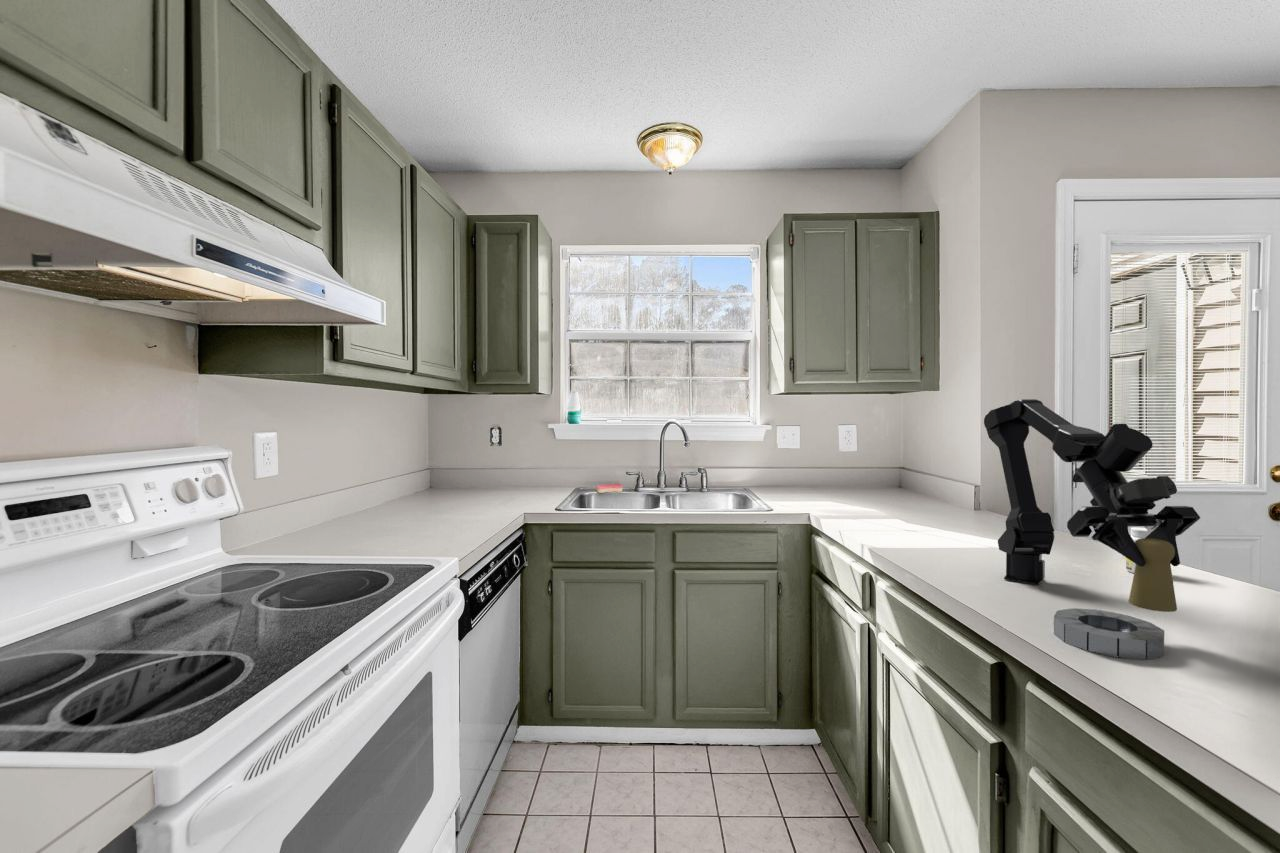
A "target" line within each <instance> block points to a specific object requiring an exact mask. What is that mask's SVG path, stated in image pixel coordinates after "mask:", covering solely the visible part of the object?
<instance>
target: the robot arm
mask: <svg viewBox="0 0 1280 853" xmlns="http://www.w3.org/2000/svg"><path fill="white" fill-rule="evenodd" d="M983 419H984V420H983V425H984V428H985V430H986V432H987V436H988V439H990V441H991V442H992V443H993V444H994V445H995V446H996V447H997V448H998V449H999V450H998V451H999V454H1000V459H1001V463H1002V464H1001V465H1002V469H1003V470H1002V471H1003V475H1004V478H1005V485H1006V490H1007V495H1008V499H1009V504H1010V511H1009V513H1008V515H1007V517H1006V520H1005V529H1006V530H1004V532H1003V533H1002V534H1001V535H1000V537H999V538H998V540H997V545H998V550H999V551H1001V552H1004V553H1005V555H1006V559H1005V568H1006V569H1005V574H1006V575H1005V576H1004V577H1003V578H1004V580H1005V581H1012V582H1017V583H1018V582H1019V583H1022V584H1023V583H1024V584H1028V585H1029V584H1030V585H1034V586H1035V585H1037V586H1039V585H1040V584H1041V583H1042V582H1043V581H1044V580H1045V578H1046V575H1045V574H1046V571H1045V570H1046V569H1045V568H1046V567H1045V566H1046V561H1045V560H1044V559H1043V555H1051V551H1052V548H1053V544H1054V541H1055V533H1054V532H1055V529H1054V526H1053V524H1052V516H1051V515H1050V513H1049V512H1043V511H1042V510H1041V509H1040V508H1039V507H1038V505H1037V500H1036V495H1035V490H1034V486H1033V482H1032V476H1031V472H1030V467H1029V464H1028V459H1027V454H1026V449H1025V442H1026V440H1027V437H1028V435H1029V434H1030V427H1031V428H1033V429H1035V430H1036V432H1038V433H1040V434H1041V435H1043V437H1045V439H1047V440H1049V441H1050V442H1051V444H1052V451H1053V452H1054V453H1055V454H1056V455H1057V456H1058V457H1059V458H1060V460H1061V461H1062V462H1065V463H1082V464H1081V465H1080V466H1079V468H1077V467H1076V468H1075V469H1074V471H1075V472H1074V474H1073V476H1072V483H1084V485H1085V486H1086V488H1087V490H1088V491H1089V493H1090V494H1091V496H1092V499H1091V500H1090V502H1089V503H1090V504H1091V506H1080V507H1079V508H1078V509H1077V511H1076V512H1074V514H1073V515H1072V516H1071V517H1070V518H1069V519H1068V520H1067V522H1066V525H1067V526H1066V527H1067V530H1068V531H1069V533H1070V535H1071V536H1072V537H1073V538H1075V537H1077V538H1078V537H1079V538H1081V537H1082V538H1083V537H1084V538H1085V537H1087V538H1089V536H1091V533H1093V530H1094V534H1093V535H1092V536H1091V539H1092V540H1093V541H1097V542H1099V543H1102V544H1103V545H1104V546H1107V547H1108V548H1110V549H1112V550H1113V551H1115V552H1117V553H1119V554H1120V555H1122V557H1124V558H1125V559H1126V558H1128V559H1129V560H1131V561H1132V562H1134V563H1135V564H1137V565H1138V566H1144V565H1145V564H1146V562H1145V560H1144V558H1143V556H1142V554H1141V552H1140V550H1139V549H1138V547H1137V546H1136V544H1135V542H1134V541H1133V539H1132V537H1131V536H1130V535H1131V533H1130V532H1129V528H1133V527H1141V528H1146V529H1147V530H1148V532H1149V533H1150V534H1149V535H1148V536H1147V537H1146V538H1152V539H1159V540H1164V541H1167V542H1169V543H1171V544H1172V545H1173V547H1174V549H1175V555H1174V558H1173V559H1172V560H1171V561H1170V565H1172V566H1173V567H1178V566H1179V565H1180V564H1181V560H1180V555H1179V549H1178V544H1177V540H1176V539H1177V537H1178V536H1180V535H1183V534H1184V532H1186V531H1187V530H1188V529H1190V527H1192V526H1193V525H1194V524H1195V523H1196V522H1198V521H1199V520H1200V519H1201V516H1200V515H1199V513H1198V512H1197V511H1196V510H1195V508H1194V507H1193V506H1188V505H1166V506H1164V507H1163V508H1162V509H1161V510H1160V511H1159V512H1158V513H1157V514H1154V513H1149V510H1153V509H1154V508H1155V507H1156V504H1155V502H1157V501H1158V502H1159V501H1160V500H1164V499H1166V500H1168V499H1170V498H1171V496H1173V495H1176V493H1178V492H1177V491H1178V489H1177V485H1176V483H1175V482H1174V481H1173V479H1171V478H1170V476H1169V475H1158V476H1156V477H1154V478H1152V477H1151V478H1137V479H1133V480H1131V481H1128V480H1127V479H1126V478H1125V476H1124V475H1123V473H1125V472H1129V471H1132V470H1133V468H1134V467H1135V466H1136V465H1138V463H1139V462H1140V461H1141V460H1142V459H1143V458H1144V457H1145V456H1146V455H1147V453H1148V452H1149V451H1150V450H1151V449H1152V448H1153V441H1152V440H1151V438H1150V437H1149V435H1145V433H1143V432H1141V431H1140V430H1137V429H1135V428H1131V427H1129V425H1128V424H1127V423H1113V424H1112V425H1111V427H1110V428H1109V430H1108V432H1107V433H1106V435H1104V434H1103V433H1102V432H1100V431H1096V430H1093V429H1091V428H1088V427H1082V426H1078V425H1075V424H1073V423H1071V422H1070V421H1069V420H1067V419H1065V418H1064V417H1062V416H1060V414H1057V413H1056V412H1055V411H1053V410H1051V409H1050V408H1049V407H1047V406H1046V405H1045V404H1044V403H1043V402H1042V401H1041V400H1039V399H1033V398H1032V399H1031V398H1030V399H1027V398H1026V399H1025V398H1024V399H1022V398H1021V399H1017V400H1014V401H1012V402H1011V403H1009V404H1006V405H1003V406H1000V407H997V408H994V409H991V410H989V412H988V413H987V414H986V415H985V416H984V418H983ZM1091 527H1092V528H1093V530H1092V528H1091Z"/></svg>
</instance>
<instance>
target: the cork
mask: <svg viewBox="0 0 1280 853" xmlns="http://www.w3.org/2000/svg"><path fill="white" fill-rule="evenodd" d="M1135 544H1136V546H1137V547H1138V549H1139V550H1140V552H1141V554H1142V556H1143V558H1144V560H1145V562H1146V564H1145V565H1144V566H1138V565H1137V564H1136V566H1135V571H1134V573H1133V577H1132V583H1131V586H1130V587H1131V588H1130V593H1129V598H1128V603H1129V604H1130V605H1133V607H1137V608H1141V609H1144V610H1147V611H1148V610H1149V611H1155V612H1162V613H1169V612H1170V613H1172V612H1174V613H1175V612H1176V611H1178V607H1177V600H1176V593H1175V592H1176V591H1175V585H1174V580H1173V579H1174V578H1173V572H1172V567H1171V565H1172V564H1170V561H1171V560H1172V559H1173V558H1174V555H1175V549H1174V547H1173V545H1172V544H1171V543H1169V542H1167V541H1164V540H1159V539H1152V538H1143V539H1138V540H1136V541H1135Z"/></svg>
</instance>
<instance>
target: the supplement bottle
mask: <svg viewBox="0 0 1280 853" xmlns="http://www.w3.org/2000/svg"><path fill="white" fill-rule="evenodd" d="M1149 534H1150V533H1149V532H1148V530H1147V529H1146V528H1145V527H1130V536H1131V537H1132V539H1133V541H1134V542H1135V541H1136V540H1138V539H1143V538H1146V537H1147V536H1148V535H1149ZM1135 566H1136V564H1135V563H1134V562H1132V561H1131V560H1129V559H1128V558H1126V557H1125V570H1126V571H1127V572H1128V573H1131V574H1134V571H1135Z"/></svg>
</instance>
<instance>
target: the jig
mask: <svg viewBox="0 0 1280 853" xmlns="http://www.w3.org/2000/svg"><path fill="white" fill-rule="evenodd" d="M1165 633H1166V632H1165V629H1163V628H1161V627H1159V626H1157V625H1156V624H1154V623H1153V622H1150V621H1147V620H1144V619H1141V618H1137V617H1134V616H1130V615H1128V614H1124V613H1123V614H1122V613H1119V612H1113V611H1107V610H1101V609H1093V608H1092V609H1091V608H1075V607H1073V608H1066V609H1059V610H1057V611H1056V612H1055V614H1054V615H1053V634H1054V635H1055V636H1056V637H1057V638H1058V639H1060V640H1061V641H1062V642H1063V643H1066V644H1068V645H1070V644H1071V645H1070V646H1073V647H1075V646H1076V647H1075V648H1078V647H1079V648H1078V649H1081V648H1082V649H1081V650H1083V649H1084V651H1085V652H1089V651H1090V652H1089V653H1093V652H1096V653H1095V654H1098V653H1101V654H1100V655H1103V654H1106V655H1105V656H1107V655H1109V656H1108V657H1112V656H1114V657H1113V658H1116V657H1117V656H1118V657H1122V658H1121V659H1126V658H1133V659H1132V660H1140V659H1143V660H1142V661H1149V660H1153V659H1154V660H1155V659H1160V658H1163V657H1164V656H1165ZM1087 650H1089V651H1087ZM1118 657H1117V658H1118ZM1159 657H1160V658H1159ZM1146 659H1147V660H1146ZM1148 659H1149V660H1148Z"/></svg>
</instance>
